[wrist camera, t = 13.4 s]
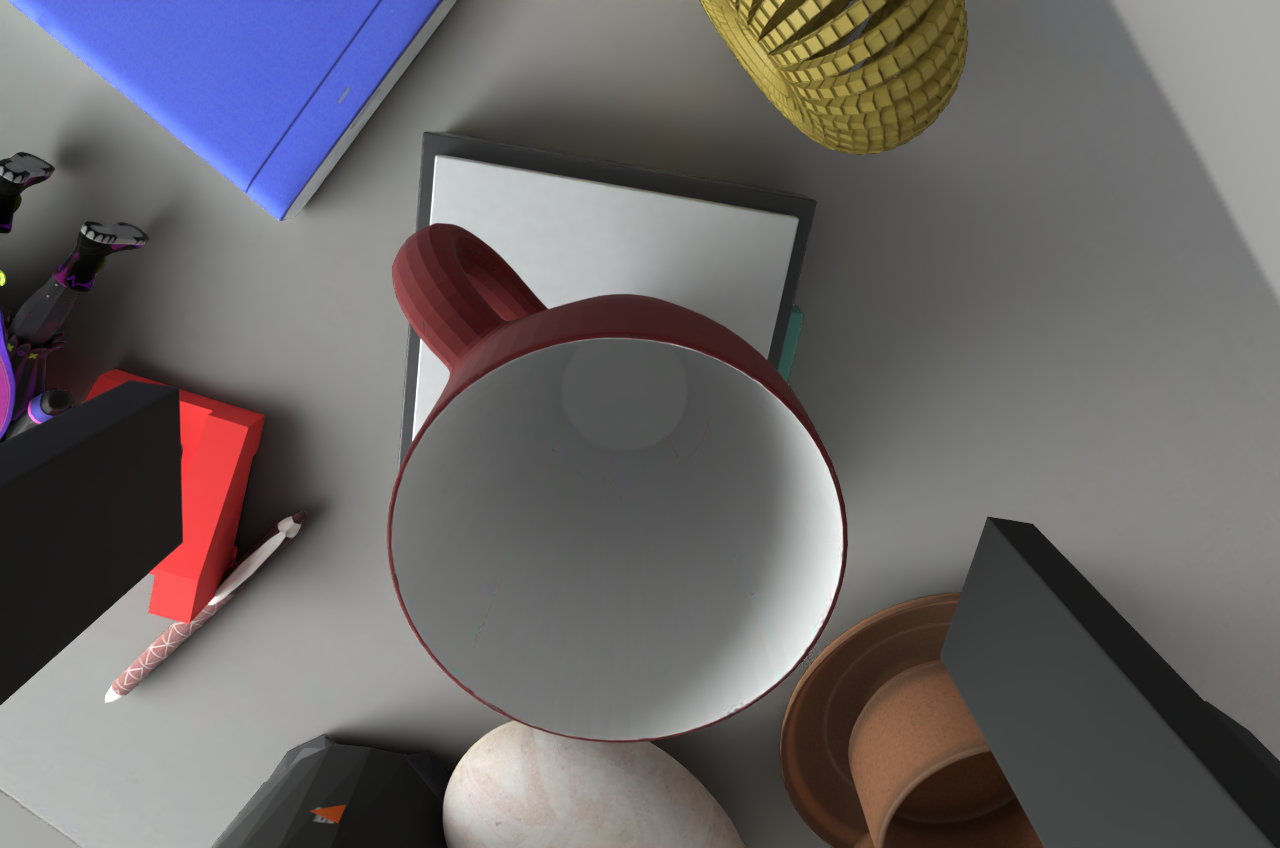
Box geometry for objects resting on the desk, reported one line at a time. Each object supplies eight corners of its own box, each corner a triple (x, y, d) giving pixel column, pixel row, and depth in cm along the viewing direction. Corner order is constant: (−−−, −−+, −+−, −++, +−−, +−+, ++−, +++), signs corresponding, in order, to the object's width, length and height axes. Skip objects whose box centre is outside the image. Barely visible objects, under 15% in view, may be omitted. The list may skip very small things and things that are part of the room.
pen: (300, 499, 28) (288, 512, 27) (318, 515, 28) (307, 528, 27) (101, 689, 30) (84, 708, 29) (119, 703, 30) (103, 721, 29)
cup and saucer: (1009, 860, 33) (1088, 1013, 28) (729, 796, 32) (750, 942, 26) (1151, 614, 30) (1278, 733, 24) (839, 531, 28) (892, 635, 23)
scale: (818, 197, 25) (840, 205, 22) (743, 518, 28) (755, 559, 26) (441, 131, 24) (417, 131, 21) (413, 469, 28) (389, 504, 25)
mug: (356, 349, 23) (166, 497, 14) (532, 118, 21) (449, 105, 12) (640, 563, 26) (644, 814, 16) (823, 373, 24) (949, 532, 14)
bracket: (232, 577, 29) (189, 623, 26) (92, 537, 28) (33, 580, 26) (268, 413, 27) (225, 444, 24) (119, 367, 27) (58, 393, 24)
